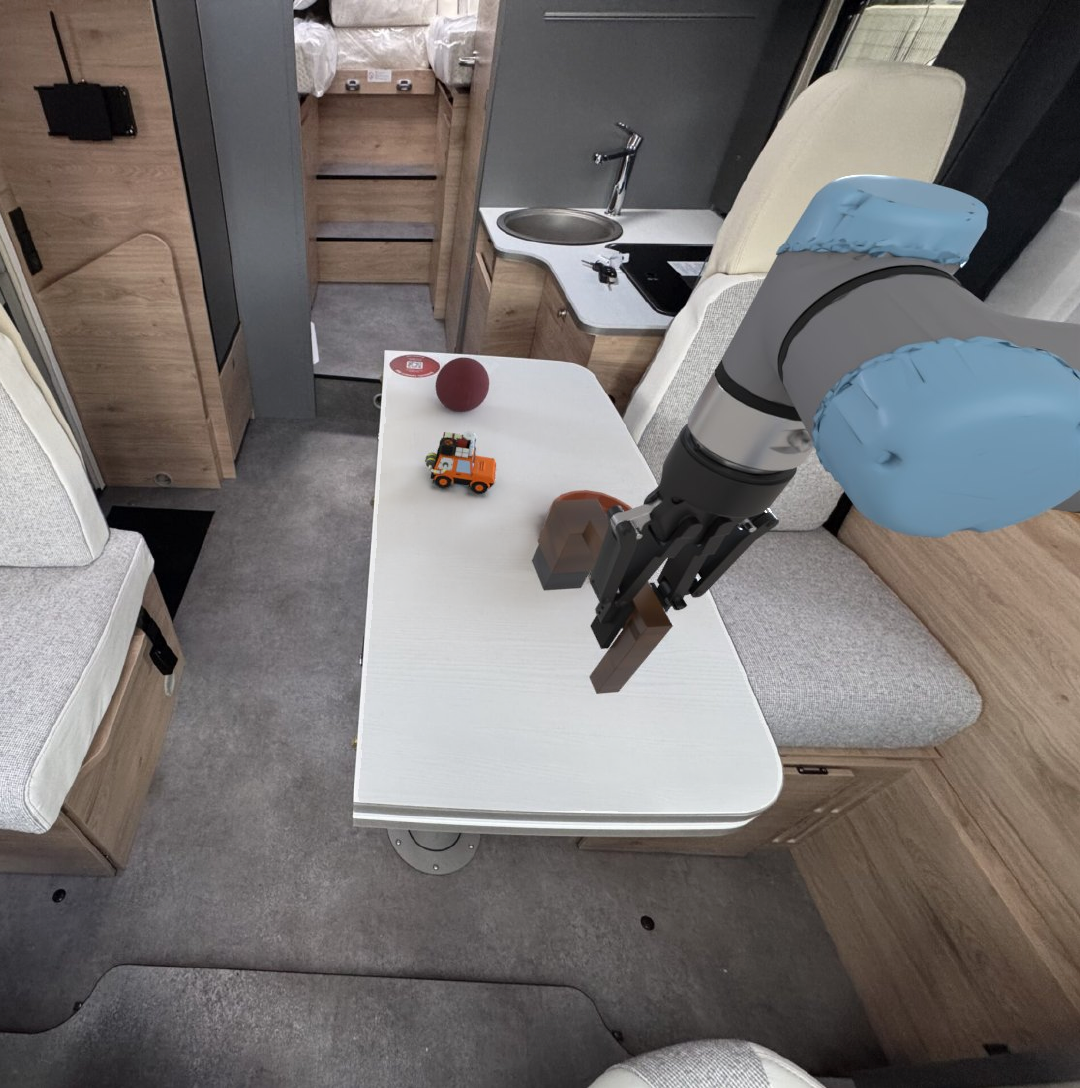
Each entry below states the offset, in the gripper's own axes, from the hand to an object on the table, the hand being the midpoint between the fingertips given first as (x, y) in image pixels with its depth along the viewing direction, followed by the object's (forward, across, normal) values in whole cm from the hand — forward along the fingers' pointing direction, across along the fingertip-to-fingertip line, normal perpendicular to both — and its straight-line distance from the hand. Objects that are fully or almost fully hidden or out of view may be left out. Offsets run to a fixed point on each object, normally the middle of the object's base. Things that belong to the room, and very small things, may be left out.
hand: (614, 635), depth 57 cm
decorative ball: (+17, +2, +64) cm, 66 cm away
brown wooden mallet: (+5, 0, +6) cm, 8 cm away
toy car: (+17, -3, +43) cm, 46 cm away
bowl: (+17, +14, +27) cm, 35 cm away
